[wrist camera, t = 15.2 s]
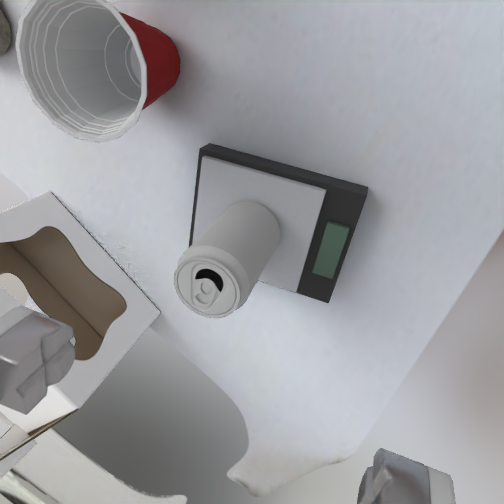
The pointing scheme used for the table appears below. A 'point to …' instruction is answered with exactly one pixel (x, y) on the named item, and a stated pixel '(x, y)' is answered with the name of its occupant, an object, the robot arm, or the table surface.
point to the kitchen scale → (283, 214)
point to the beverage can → (227, 260)
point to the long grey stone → (4, 33)
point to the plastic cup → (92, 65)
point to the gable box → (66, 309)
